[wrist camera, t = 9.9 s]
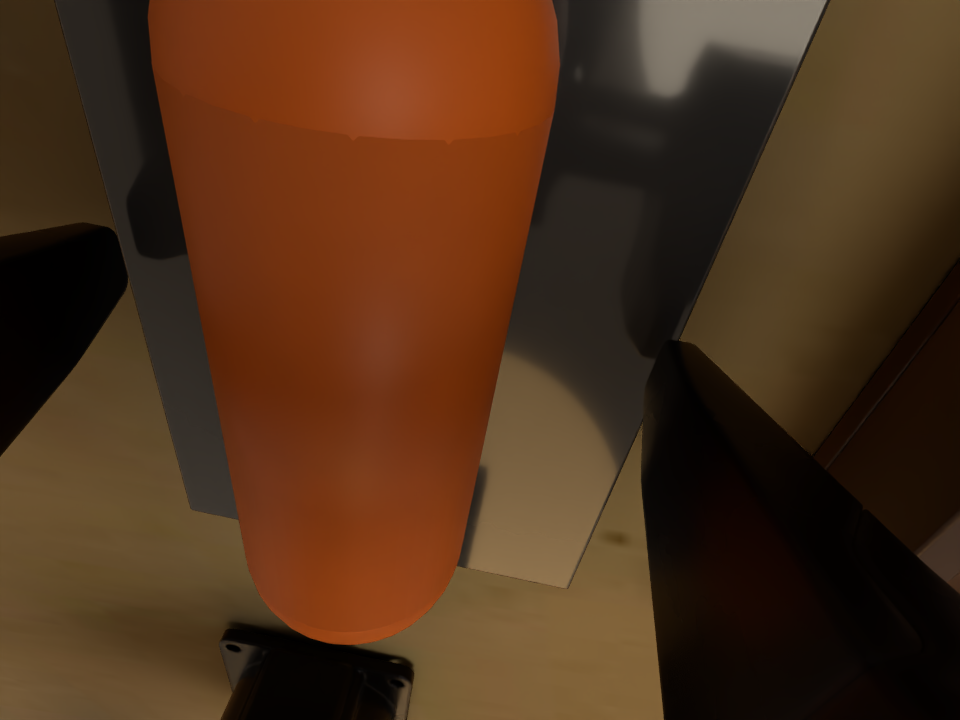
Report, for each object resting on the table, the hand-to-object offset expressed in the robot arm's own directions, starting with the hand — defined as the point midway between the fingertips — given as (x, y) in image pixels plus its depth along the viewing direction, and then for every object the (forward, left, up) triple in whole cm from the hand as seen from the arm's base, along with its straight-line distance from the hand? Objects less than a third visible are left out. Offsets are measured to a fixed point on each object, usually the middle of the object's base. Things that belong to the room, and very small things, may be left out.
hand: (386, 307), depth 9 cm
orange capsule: (0, 0, 0) cm, 0 cm away
